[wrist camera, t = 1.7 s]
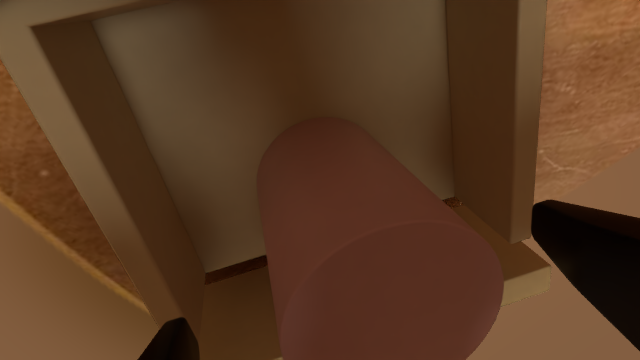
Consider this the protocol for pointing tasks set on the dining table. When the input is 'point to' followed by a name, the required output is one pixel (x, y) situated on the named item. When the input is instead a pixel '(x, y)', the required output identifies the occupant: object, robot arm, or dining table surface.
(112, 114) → the drawer
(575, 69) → the dining table surface
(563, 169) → the dining table surface
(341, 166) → the red cylinder
